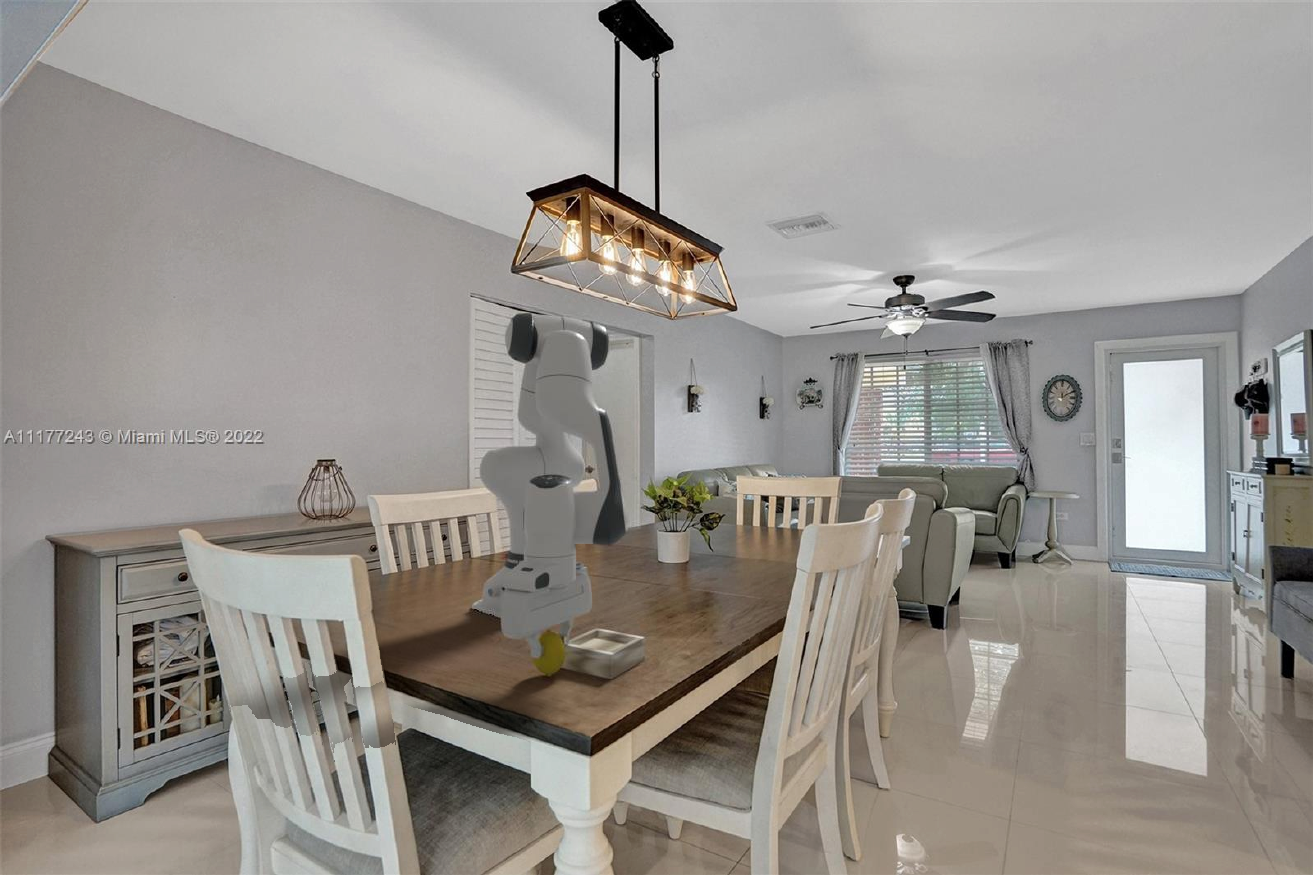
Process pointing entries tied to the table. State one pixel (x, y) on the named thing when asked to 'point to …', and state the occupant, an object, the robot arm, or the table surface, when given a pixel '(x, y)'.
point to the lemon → (550, 653)
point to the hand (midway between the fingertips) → (550, 650)
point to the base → (604, 653)
